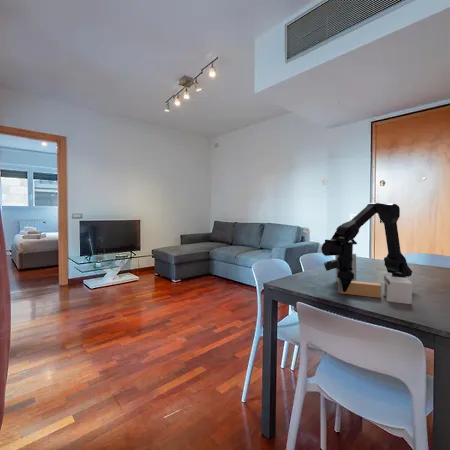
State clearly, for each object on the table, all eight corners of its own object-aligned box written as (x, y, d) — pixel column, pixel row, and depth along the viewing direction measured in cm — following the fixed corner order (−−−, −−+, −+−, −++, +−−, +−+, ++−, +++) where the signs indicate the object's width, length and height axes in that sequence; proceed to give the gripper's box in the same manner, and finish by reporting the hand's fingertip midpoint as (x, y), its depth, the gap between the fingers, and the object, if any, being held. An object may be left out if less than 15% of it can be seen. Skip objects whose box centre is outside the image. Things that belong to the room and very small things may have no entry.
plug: (337, 290, 121) (338, 278, 120) (379, 295, 115) (379, 282, 114) (338, 293, 117) (338, 281, 116) (380, 298, 111) (381, 285, 110)
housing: (383, 294, 117) (384, 275, 116) (405, 296, 114) (405, 277, 113) (387, 301, 107) (388, 281, 107) (411, 304, 104) (412, 283, 104)
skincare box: (356, 284, 132) (357, 253, 132) (347, 285, 130) (348, 254, 129) (342, 279, 140) (343, 251, 139) (334, 281, 137) (335, 252, 137)
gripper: (325, 250, 128) (325, 283, 129) (324, 256, 111) (323, 294, 112) (351, 252, 124) (350, 285, 125) (354, 258, 107) (353, 297, 108)
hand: (344, 290), depth 118 cm, fingers closed on plug, 4 cm apart
